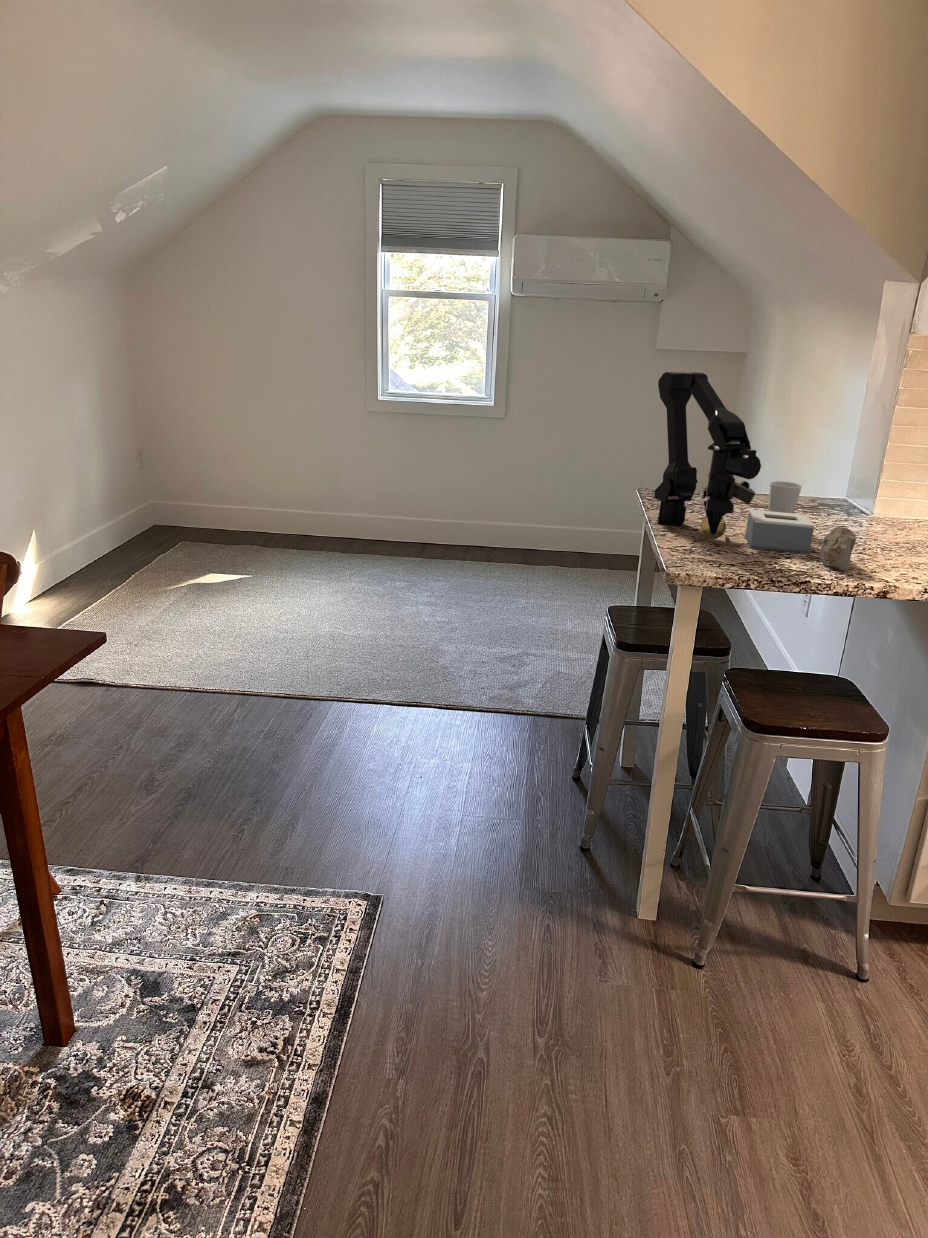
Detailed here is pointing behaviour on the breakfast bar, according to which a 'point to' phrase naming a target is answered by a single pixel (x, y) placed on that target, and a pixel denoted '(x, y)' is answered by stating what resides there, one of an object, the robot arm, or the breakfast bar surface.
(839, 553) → the rock
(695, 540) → the coin stand
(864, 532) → the breakfast bar surface
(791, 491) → the cup
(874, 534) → the breakfast bar surface
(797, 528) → the box
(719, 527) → the coin
